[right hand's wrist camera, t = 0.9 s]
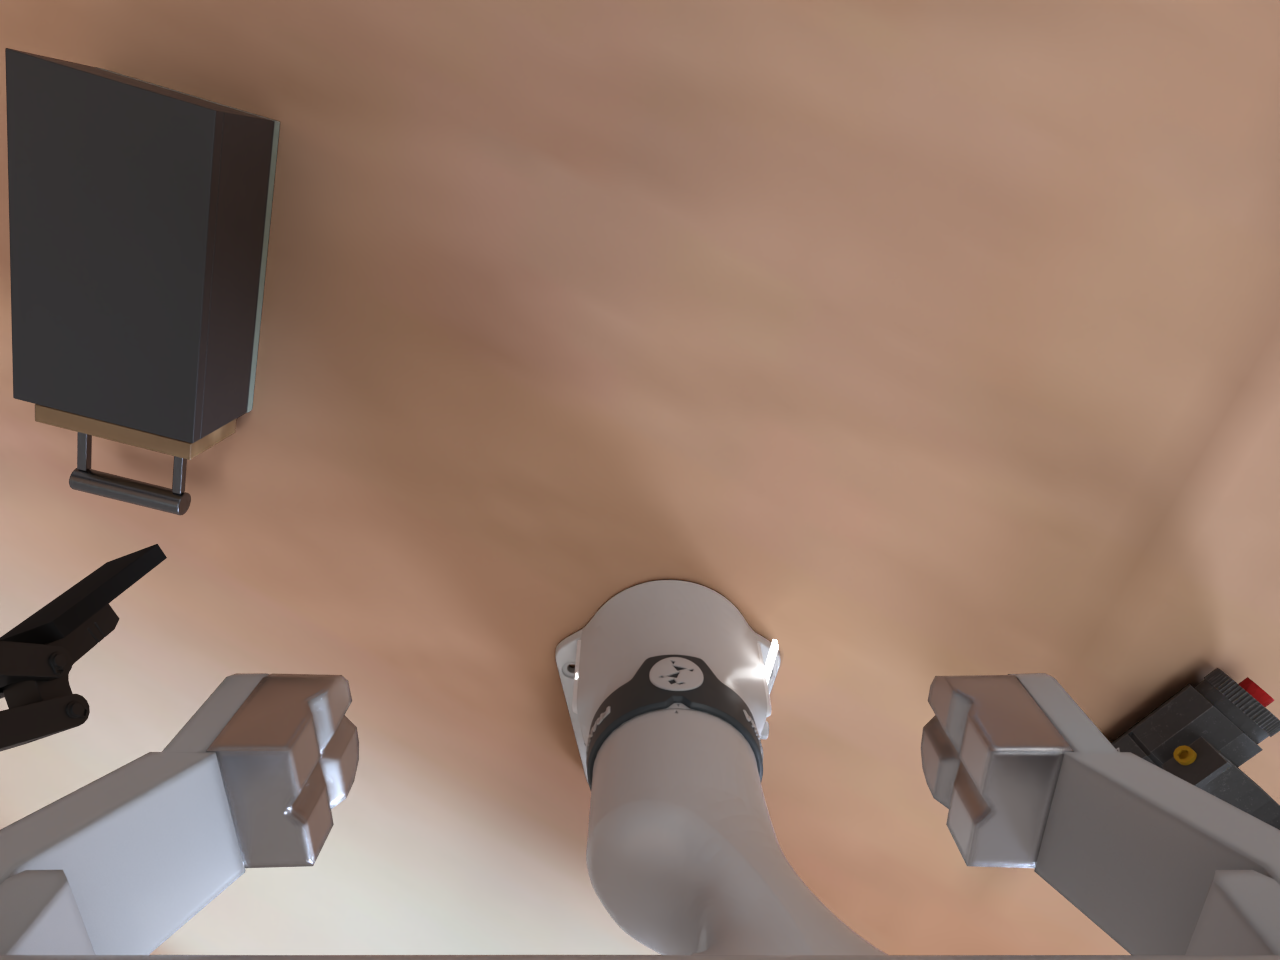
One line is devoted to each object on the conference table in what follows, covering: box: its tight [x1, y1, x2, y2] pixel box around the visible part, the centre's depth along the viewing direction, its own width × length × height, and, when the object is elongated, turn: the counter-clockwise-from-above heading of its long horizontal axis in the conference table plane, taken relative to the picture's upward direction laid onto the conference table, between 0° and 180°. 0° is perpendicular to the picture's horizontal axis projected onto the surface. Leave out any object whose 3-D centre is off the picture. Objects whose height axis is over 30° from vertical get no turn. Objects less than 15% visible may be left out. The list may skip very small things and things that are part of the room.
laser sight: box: [1111, 668, 1280, 830], centre depth 62 cm, size 10×22×10 cm, turn 140°
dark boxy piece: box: [6, 48, 280, 443], centre depth 48 cm, size 20×11×8 cm, turn 164°
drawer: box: [35, 404, 236, 515], centre depth 50 cm, size 24×10×6 cm, turn 164°
